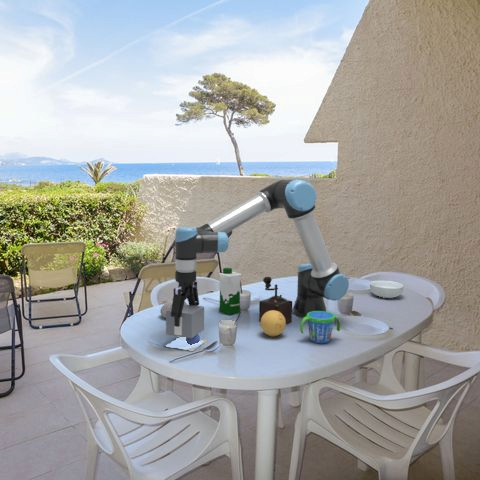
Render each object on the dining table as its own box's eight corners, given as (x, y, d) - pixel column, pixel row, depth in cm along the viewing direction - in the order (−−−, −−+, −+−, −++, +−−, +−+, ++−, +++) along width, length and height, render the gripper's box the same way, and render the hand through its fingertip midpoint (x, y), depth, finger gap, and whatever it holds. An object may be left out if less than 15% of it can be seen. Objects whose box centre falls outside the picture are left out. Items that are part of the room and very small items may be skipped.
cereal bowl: (362, 294, 239) (363, 281, 238) (386, 291, 246) (387, 279, 245) (385, 302, 224) (385, 288, 223) (409, 299, 231) (410, 286, 230)
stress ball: (258, 339, 171) (271, 329, 164) (253, 316, 176) (266, 305, 169) (280, 340, 176) (293, 329, 169) (274, 317, 181) (287, 306, 174)
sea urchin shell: (173, 311, 204) (173, 294, 203) (197, 316, 197) (197, 298, 196) (154, 318, 193) (153, 300, 192) (178, 324, 186) (178, 305, 185)
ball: (187, 331, 165) (191, 344, 165) (182, 335, 160) (186, 349, 160) (199, 328, 163) (203, 341, 163) (194, 332, 158) (198, 346, 158)
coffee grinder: (293, 322, 190) (295, 281, 188) (277, 327, 183) (278, 285, 180) (266, 314, 201) (267, 275, 199) (249, 319, 193) (250, 278, 191)
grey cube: (204, 329, 165) (204, 306, 164) (191, 338, 156) (191, 313, 155) (179, 326, 169) (179, 303, 168) (166, 334, 159) (165, 310, 158)
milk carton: (231, 308, 209) (231, 266, 207) (243, 312, 202) (244, 269, 200) (216, 311, 204) (216, 268, 201) (228, 316, 197) (229, 272, 194)
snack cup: (303, 346, 163) (304, 319, 161) (296, 336, 173) (297, 310, 172) (344, 345, 164) (345, 318, 163) (335, 335, 175) (336, 310, 173)
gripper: (191, 264, 171) (190, 319, 174) (160, 275, 150) (160, 338, 153) (208, 265, 169) (207, 322, 172) (179, 277, 148) (179, 341, 150)
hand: (185, 329), depth 162 cm, fingers closed on grey cube, 10 cm apart
